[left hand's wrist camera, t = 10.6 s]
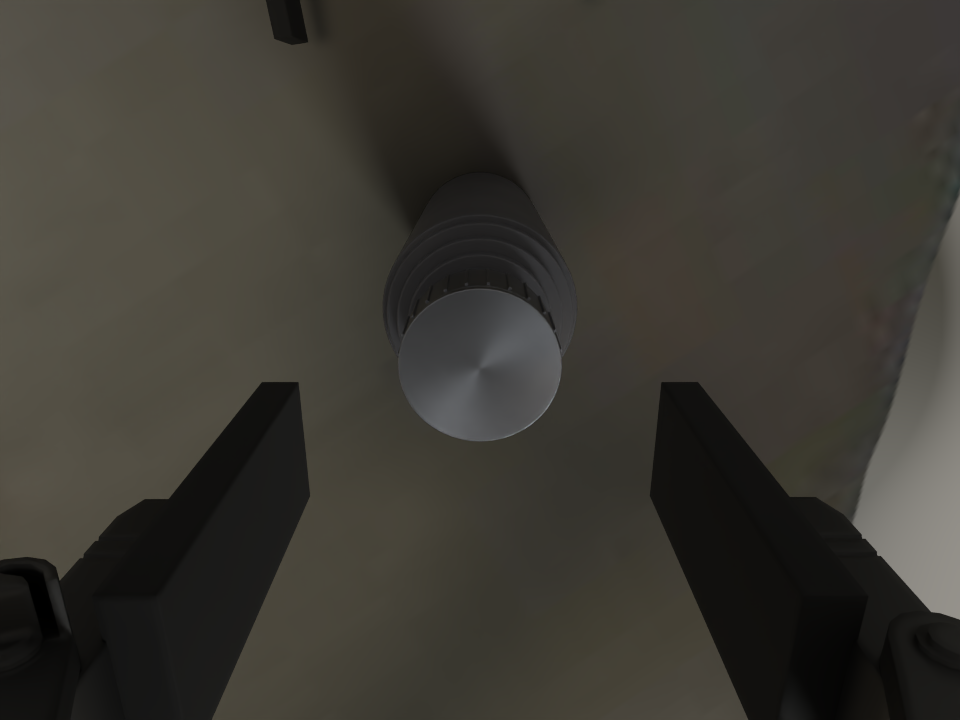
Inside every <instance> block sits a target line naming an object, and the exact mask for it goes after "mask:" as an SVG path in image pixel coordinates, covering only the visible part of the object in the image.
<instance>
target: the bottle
mask: <svg viewBox="0 0 960 720" xmlns="http://www.w3.org/2000/svg"><path fill="white" fill-rule="evenodd" d="M486 268H488V269H489V270H492V271H498V272H501V273H504V274H506V273H509V275H510V276H512V277H514V278H516V279H518V280H520V281H521V282H523V283H524V282H526V283H527V286H528V287H529V288H530V289H532V290H533V291H534V293H535V294H536V295H537V296H539V295H540V297H541V299H542V302H543V304H544V306H545V308H546V310H547V312H550V313H551V316H552V319H553V322H554V325H555V328H556V330H557V332H556V334H557V337H558V340H559V343H560V346H561V349H562V352H561V358H562V357H563V355H564V353H565V352H566V350H567V348H568V346H569V344H570V341H571V338H572V336H573V333H574V328H575V324H576V317H577V297H576V291H575V286H574V282H573V279H572V276H571V273H570V271H569V269H568V267H567V265H566V263H565V261H564V259H563V258H562V256H561V254H560V252H559V250H558V249H557V247H556V245H555V243H554V241H553V240H552V238H551V236H550V234H549V232H548V231H547V229H546V227H545V225H544V223H543V222H542V220H541V218H540V216H539V214H538V213H537V211H536V209H535V207H534V205H533V204H532V202H531V200H530V199H529V197H528V196H527V195H526V194H525V192H524V191H523V190H522V189H521V188H520V187H518V186H517V185H516V184H515V183H513V182H512V181H510V180H508V179H506V178H504V177H502V176H499V175H496V174H491V173H484V172H476V173H468V174H464V175H461V176H458V177H456V178H454V179H452V180H450V181H448V182H447V183H445V184H444V185H443V186H441V187H440V188H439V189H438V190H437V191H436V192H435V193H434V195H433V196H432V197H431V199H430V200H429V202H428V204H427V205H426V207H425V209H424V211H423V213H422V214H421V216H420V218H419V220H418V222H417V223H416V225H415V227H414V229H413V231H412V232H411V234H410V236H409V238H408V240H407V241H406V243H405V245H404V247H403V249H402V250H401V252H400V254H399V256H398V258H397V259H396V261H395V263H394V265H393V267H392V269H391V271H390V274H389V276H388V278H387V282H386V286H385V290H384V297H383V318H384V325H385V329H386V333H387V336H388V339H389V341H390V344H391V346H392V348H393V350H394V352H395V354H396V355H397V357H399V356H398V351H399V348H400V345H401V342H402V339H403V336H401V335H402V333H403V330H404V327H405V324H406V321H407V318H408V316H411V314H412V311H413V309H414V306H415V303H416V300H417V299H420V298H421V297H422V296H423V294H424V293H425V292H426V291H427V290H428V289H429V286H430V285H432V286H433V285H434V284H436V283H437V282H439V281H440V280H442V279H444V278H446V275H448V274H449V276H450V275H453V274H455V273H458V272H463V271H466V269H469V270H477V269H480V270H486Z"/></svg>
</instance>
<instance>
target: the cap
mask: <svg viewBox="0 0 960 720" xmlns="http://www.w3.org/2000/svg"><path fill="white" fill-rule="evenodd" d="M556 332H557V330H556V328H555V325H554V322H553V319H552V316H551V313H550V312H547V310H546V308H545V306H544V304H543V302H542V299H541V297H540V295H539V296H537V295H536V294H535V293H534V291H533V290H532V289H530V288H529V287H528V286H527V283H526V282H524V283H523V282H521V281H520V280H518V279H516V278H514V277H512V276H510V275H509V273H506V274H504V273H501V272H498V271H492V270H489V269H488V268H486V270H480V269H477V270H469V269H466V271H463V272H458V273H455V274H453V275H450V276H449V274H448V275H446V278H444V279H442V280H440V281H439V282H437V283H436V284H434V285H433V286H432V285H430V286H429V289H428V290H427V291H426V292H425V293H424V294H423V296H422V297H421V298H420V299H417V300H416V303H415V306H414V309H413V311H412V314H411V316H408V318H407V321H406V324H405V327H404V330H403V333H402V335H401V336H403V339H402V342H401V345H400V348H399V351H398V356H399V357H398V372H399V379H400V383H401V386H402V390H403V392H404V394H405V396H406V399H407V400H408V402H409V404H410V405H411V407H412V408H413V409H414V411H415V412H416V413H417V414H418V415H419V416H420V417H421V418H422V419H423V420H424V421H425V422H426V423H428V424H429V425H430V426H432V427H433V428H435V429H437V430H438V431H440V432H442V433H444V434H447V435H449V436H451V437H455V438H459V439H462V440H469V441H491V440H497V439H502V438H505V437H508V436H511V435H513V434H516V433H518V432H520V431H522V430H523V429H525V428H527V427H528V426H530V425H531V424H532V423H533V422H535V421H536V420H537V419H538V418H539V417H540V416H541V415H542V414H543V413H544V412H545V410H546V409H547V408H548V406H549V405H550V404H551V402H552V400H553V398H554V396H555V394H556V392H557V389H558V386H559V382H560V378H561V370H562V359H561V352H562V349H561V346H560V343H559V340H558V337H557V334H556Z"/></svg>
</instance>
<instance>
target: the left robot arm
mask: <svg viewBox="0 0 960 720" xmlns="http://www.w3.org/2000/svg"><path fill="white" fill-rule="evenodd" d="M309 497H310V491H309V481H308V471H307V461H306V451H305V442H304V432H303V422H302V412H301V402H300V392H299V383H298V382H262V383H261V384H260V385H259V387H258V388H257V389H256V390H255V392H254V393H253V394H252V395H251V397H250V398H249V399H248V400H247V402H246V403H245V404H244V405H243V407H242V408H241V409H240V410H239V412H238V413H237V414H236V415H235V417H234V418H233V419H232V420H231V422H230V423H229V424H228V426H227V427H226V428H225V429H224V431H223V432H222V433H221V434H220V436H219V437H218V438H217V439H216V441H215V442H214V443H213V444H212V446H211V447H210V448H209V449H208V451H207V452H206V453H205V454H204V456H203V457H202V458H201V459H200V461H199V462H198V463H197V464H196V466H195V467H194V468H193V469H192V471H191V472H190V473H189V474H188V476H187V477H186V478H185V479H184V481H183V482H182V483H181V484H180V486H179V487H178V488H177V489H176V491H175V492H174V493H173V494H172V496H171V497H170V498H169V499H144V500H143V501H141V502H140V503H138V504H136V505H135V506H133V507H132V508H130V509H129V510H127V511H125V512H124V513H122V514H121V515H119V516H117V517H116V518H115V520H114V521H113V522H112V523H111V524H110V525H109V526H108V527H107V529H106V530H105V531H104V532H103V533H102V534H101V535H100V536H99V541H95V542H94V543H93V544H92V545H91V546H90V548H89V549H88V550H87V551H86V552H85V553H84V557H83V558H80V559H79V560H78V561H77V562H76V563H75V564H74V566H73V567H72V568H71V569H70V570H69V571H68V572H67V573H66V575H65V576H64V577H63V578H62V579H61V580H60V581H59V577H58V573H57V570H56V567H55V566H53V565H52V564H51V563H49V562H48V561H47V560H44V559H37V558H31V557H23V558H13V559H4V560H1V561H0V720H212V718H213V715H214V713H215V711H216V708H217V706H218V704H219V702H220V699H221V697H222V695H223V693H224V690H225V688H226V686H227V683H228V681H229V679H230V677H231V674H232V672H233V670H234V668H235V665H236V663H237V661H238V658H239V656H240V654H241V652H242V649H243V647H244V645H245V642H246V640H247V638H248V636H249V633H250V631H251V629H252V627H253V624H254V622H255V620H256V617H257V615H258V613H259V611H260V608H261V606H262V604H263V602H264V599H265V597H266V595H267V592H268V590H269V588H270V586H271V583H272V581H273V579H274V577H275V574H276V572H277V570H278V567H279V565H280V563H281V561H282V558H283V556H284V554H285V552H286V549H287V547H288V545H289V542H290V540H291V538H292V536H293V533H294V531H295V529H296V527H297V524H298V522H299V520H300V517H301V515H302V513H303V511H304V508H305V506H306V504H307V502H308V499H309ZM650 497H651V499H652V502H653V504H654V506H655V508H656V511H657V513H658V515H659V517H660V520H661V522H662V524H663V527H664V529H665V531H666V533H667V536H668V538H669V540H670V542H671V545H672V547H673V549H674V552H675V554H676V556H677V558H678V561H679V563H680V565H681V567H682V570H683V572H684V574H685V577H686V579H687V581H688V583H689V586H690V588H691V590H692V592H693V595H694V597H695V599H696V602H697V604H698V606H699V608H700V611H701V613H702V615H703V617H704V620H705V622H706V624H707V627H708V629H709V631H710V633H711V636H712V638H713V640H714V642H715V645H716V647H717V649H718V652H719V654H720V656H721V658H722V661H723V663H724V665H725V667H726V670H727V672H728V674H729V677H730V679H731V681H732V683H733V686H734V688H735V690H736V693H737V695H738V697H739V699H740V702H741V704H742V706H743V708H744V711H745V713H746V715H747V718H748V720H960V620H959V619H956V618H953V617H950V616H947V615H944V614H941V613H933V612H930V610H929V609H928V608H927V607H926V606H925V605H924V604H923V603H922V601H921V600H920V599H919V598H918V597H917V596H916V595H915V594H914V593H913V592H912V590H911V589H910V588H909V587H908V586H907V585H906V584H905V583H904V581H903V580H902V579H901V578H900V577H899V576H898V575H897V574H896V572H895V571H894V570H893V569H892V568H891V567H890V566H889V565H888V564H887V562H886V561H885V560H884V559H883V558H882V557H881V556H877V551H876V550H875V549H874V548H873V547H872V546H871V545H870V544H869V542H868V541H867V540H866V539H862V535H861V533H860V532H859V531H858V530H857V529H856V528H855V527H854V526H853V525H852V523H851V522H850V521H849V520H848V519H847V518H846V517H845V516H844V515H843V514H842V513H840V512H839V511H837V510H835V509H834V508H832V507H831V506H829V505H827V504H826V503H824V502H823V501H821V500H819V499H818V498H816V497H789V496H788V494H787V493H786V492H785V491H784V489H783V488H782V487H781V486H780V484H779V483H778V482H777V481H776V479H775V478H774V477H773V476H772V474H771V473H770V472H769V471H768V469H767V468H766V467H765V466H764V464H763V463H762V462H761V461H760V459H759V458H758V457H757V456H756V454H755V453H754V452H753V451H752V449H751V448H750V447H749V446H748V444H747V443H746V442H745V441H744V439H743V438H742V437H741V436H740V434H739V433H738V432H737V431H736V429H735V428H734V427H733V425H732V424H731V423H730V422H729V420H728V419H727V418H726V417H725V415H724V414H723V413H722V412H721V410H720V409H719V408H718V407H717V405H716V404H715V403H714V402H713V400H712V399H711V398H710V397H709V395H708V394H707V393H706V392H705V390H704V389H703V388H702V387H701V385H700V384H699V383H698V382H662V383H661V392H660V402H659V412H658V422H657V432H656V442H655V451H654V461H653V471H652V481H651V491H650Z"/></svg>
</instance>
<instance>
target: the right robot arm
mask: <svg viewBox="0 0 960 720" xmlns="http://www.w3.org/2000/svg"><path fill="white" fill-rule="evenodd" d="M266 3H267V7H268V12H269V16H270V21H271V25H272V30H273V35H274V39H276V40H279V41H282V42H285V43H288V44H291V45H293V44H300V43H307V42H308V39H307V34H306V29H305V24H304V19H303V15H302V10H301V5H300V0H266Z"/></svg>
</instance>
